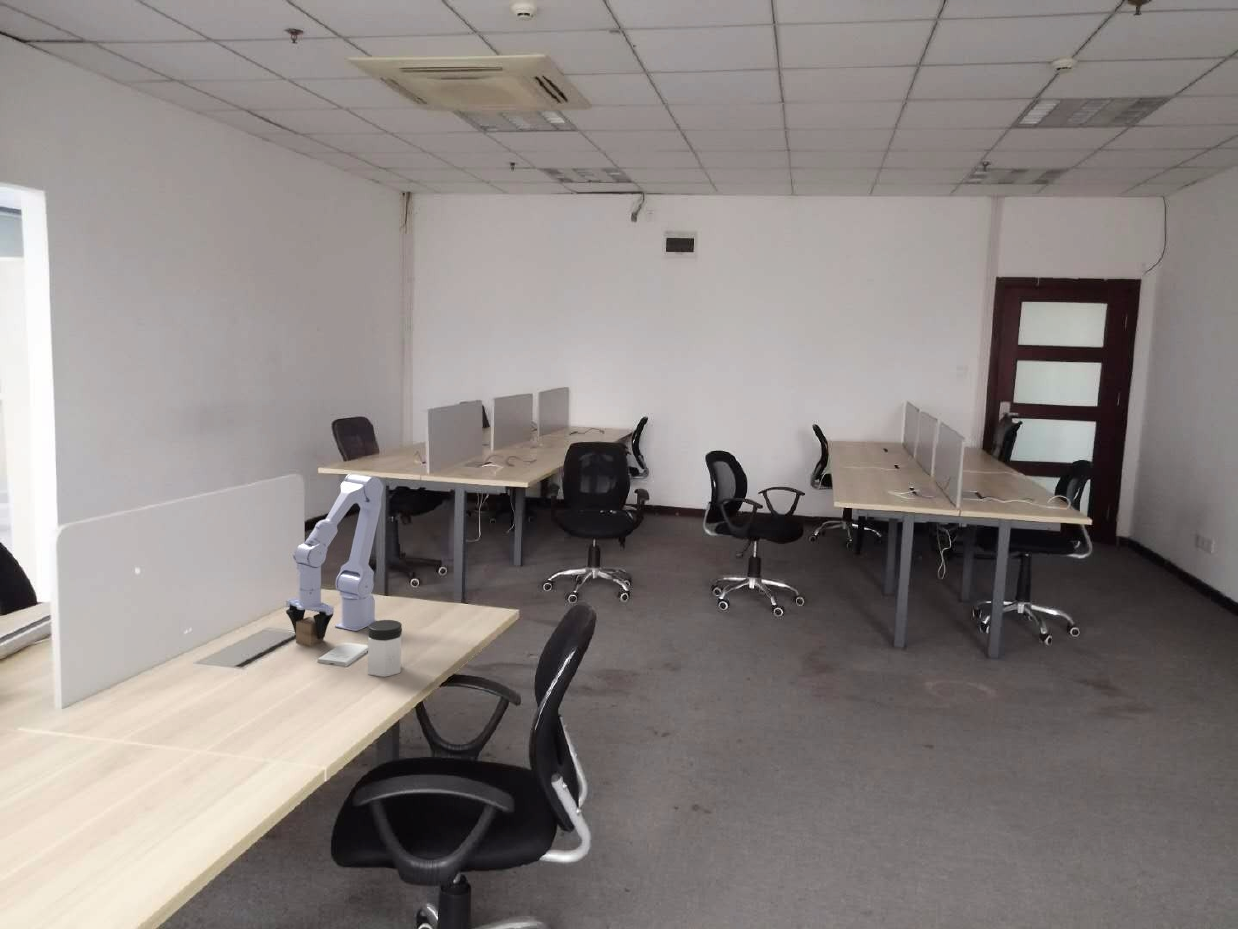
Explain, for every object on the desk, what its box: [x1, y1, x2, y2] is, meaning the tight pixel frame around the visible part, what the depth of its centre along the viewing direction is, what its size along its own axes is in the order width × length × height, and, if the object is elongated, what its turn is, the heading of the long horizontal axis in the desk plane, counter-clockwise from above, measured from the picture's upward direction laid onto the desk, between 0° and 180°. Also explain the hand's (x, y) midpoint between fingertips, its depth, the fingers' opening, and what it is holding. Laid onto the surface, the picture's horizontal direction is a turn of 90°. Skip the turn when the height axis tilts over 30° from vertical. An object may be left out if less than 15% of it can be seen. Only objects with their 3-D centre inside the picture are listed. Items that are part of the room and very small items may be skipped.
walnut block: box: [295, 616, 325, 647], centre depth 228 cm, size 5×5×6 cm
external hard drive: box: [316, 641, 368, 667], centre depth 219 cm, size 2×8×12 cm
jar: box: [367, 619, 403, 678], centre depth 210 cm, size 9×8×12 cm
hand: (309, 635), depth 228 cm, fingers open, 7 cm apart
